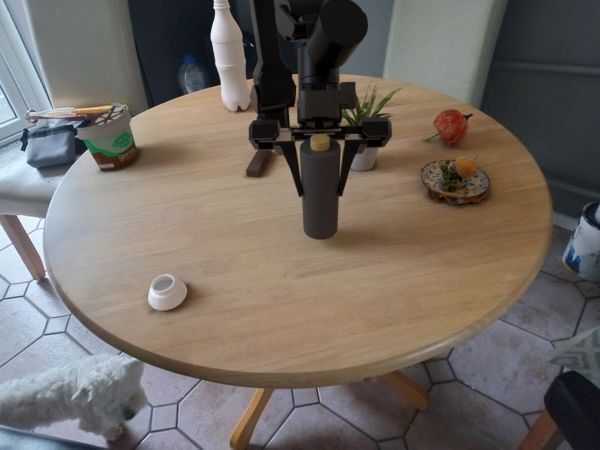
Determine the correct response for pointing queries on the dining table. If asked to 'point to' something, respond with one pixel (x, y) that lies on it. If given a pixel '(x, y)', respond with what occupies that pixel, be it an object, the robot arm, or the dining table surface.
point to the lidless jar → (166, 292)
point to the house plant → (369, 154)
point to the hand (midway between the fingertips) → (320, 196)
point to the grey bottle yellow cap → (320, 185)
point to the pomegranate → (451, 126)
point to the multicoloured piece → (455, 180)
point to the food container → (110, 139)
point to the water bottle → (229, 57)
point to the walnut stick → (258, 163)
